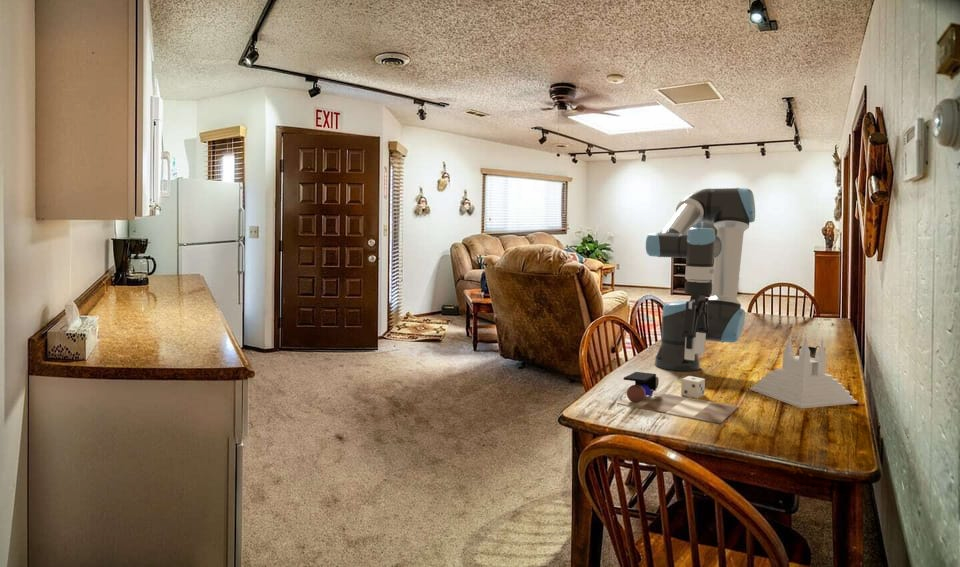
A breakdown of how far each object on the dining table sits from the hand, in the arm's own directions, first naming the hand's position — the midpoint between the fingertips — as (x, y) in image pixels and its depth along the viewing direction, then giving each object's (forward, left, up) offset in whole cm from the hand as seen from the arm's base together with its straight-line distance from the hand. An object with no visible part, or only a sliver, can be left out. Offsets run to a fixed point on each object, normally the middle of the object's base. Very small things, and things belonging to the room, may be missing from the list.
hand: (694, 356), depth 183 cm
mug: (-41, +25, -12) cm, 49 cm away
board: (+14, 0, -12) cm, 18 cm away
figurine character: (+14, -10, -11) cm, 21 cm away
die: (0, 0, -12) cm, 12 cm away
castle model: (-20, +26, -12) cm, 35 cm away
